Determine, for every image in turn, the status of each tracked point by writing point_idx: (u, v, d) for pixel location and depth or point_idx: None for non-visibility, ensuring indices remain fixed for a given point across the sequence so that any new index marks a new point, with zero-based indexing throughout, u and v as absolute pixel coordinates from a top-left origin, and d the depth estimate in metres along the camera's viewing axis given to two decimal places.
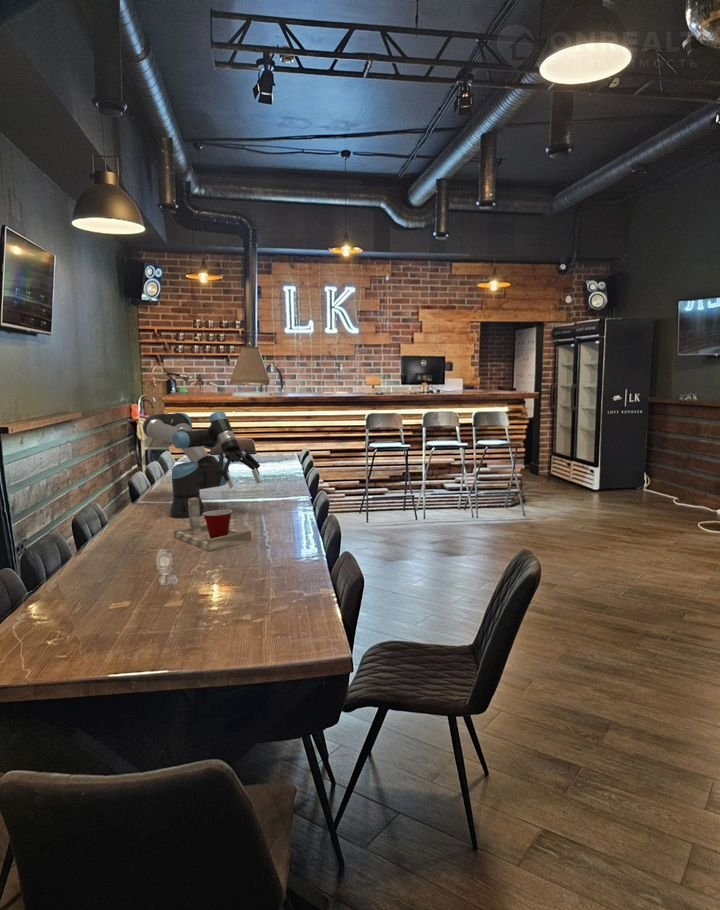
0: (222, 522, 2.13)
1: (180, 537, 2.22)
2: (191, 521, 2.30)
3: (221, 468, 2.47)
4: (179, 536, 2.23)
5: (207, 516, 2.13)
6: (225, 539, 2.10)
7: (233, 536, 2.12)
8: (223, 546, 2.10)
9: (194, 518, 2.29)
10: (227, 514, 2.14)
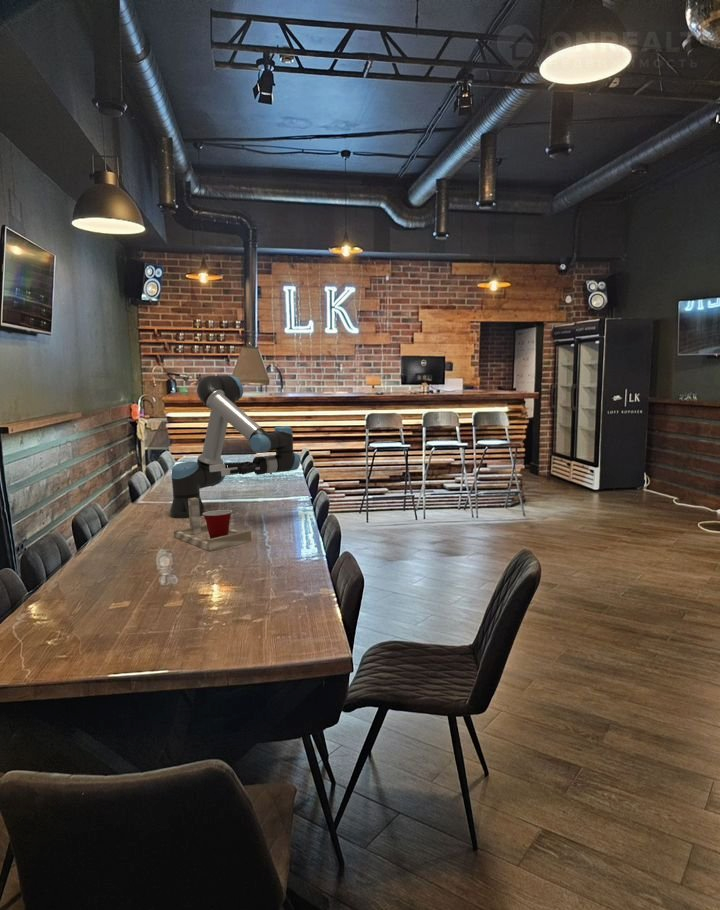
0: (222, 522, 2.13)
1: (180, 537, 2.22)
2: (191, 521, 2.30)
3: (244, 473, 2.31)
4: (179, 536, 2.23)
5: (207, 516, 2.13)
6: (225, 539, 2.10)
7: (233, 536, 2.12)
8: (223, 546, 2.10)
9: (194, 518, 2.29)
10: (227, 514, 2.14)
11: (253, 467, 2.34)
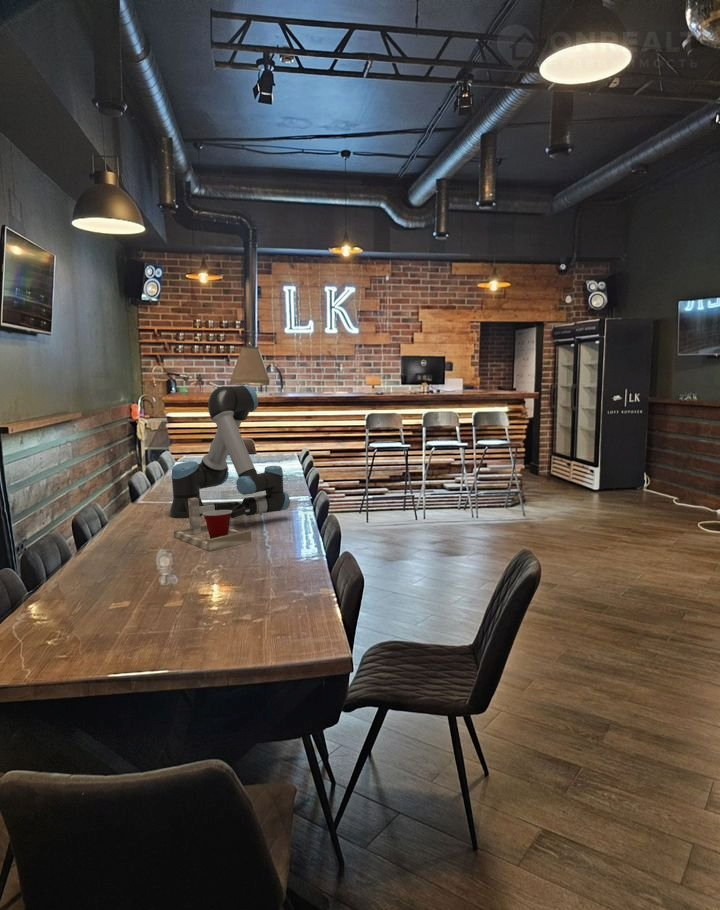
0: (222, 522, 2.13)
1: (180, 537, 2.22)
2: (191, 521, 2.30)
3: None
4: (179, 536, 2.23)
5: (207, 516, 2.13)
6: (225, 539, 2.10)
7: (233, 536, 2.12)
8: (223, 546, 2.10)
9: (194, 518, 2.29)
10: (227, 514, 2.14)
11: (243, 510, 2.33)
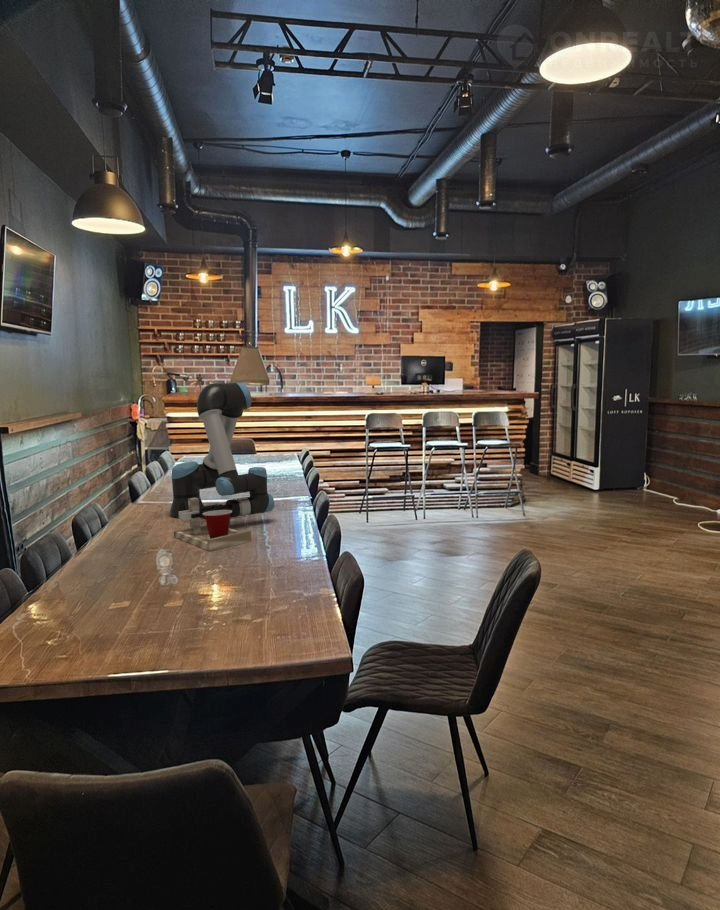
0: (222, 522, 2.13)
1: (180, 537, 2.22)
2: (191, 521, 2.30)
3: None
4: (179, 536, 2.23)
5: (207, 516, 2.13)
6: (225, 539, 2.10)
7: (233, 536, 2.12)
8: (223, 546, 2.10)
9: None
10: (227, 514, 2.14)
11: None
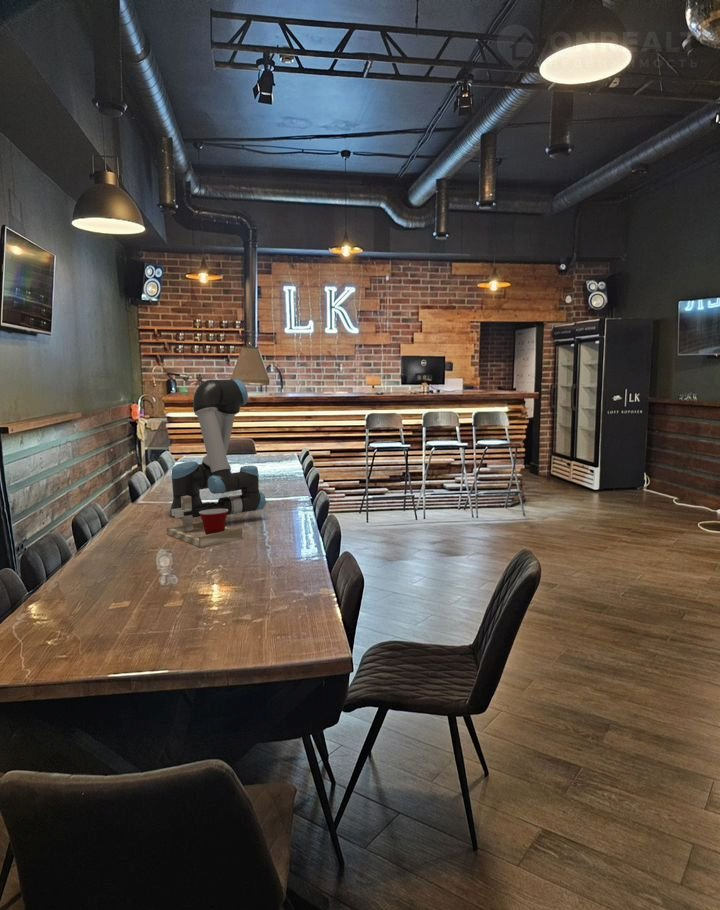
0: (217, 521, 2.16)
1: (173, 534, 2.27)
2: (184, 519, 2.34)
3: None
4: (171, 533, 2.27)
5: (203, 515, 2.15)
6: (216, 536, 2.15)
7: (224, 533, 2.17)
8: (214, 543, 2.14)
9: None
10: (223, 513, 2.16)
11: None
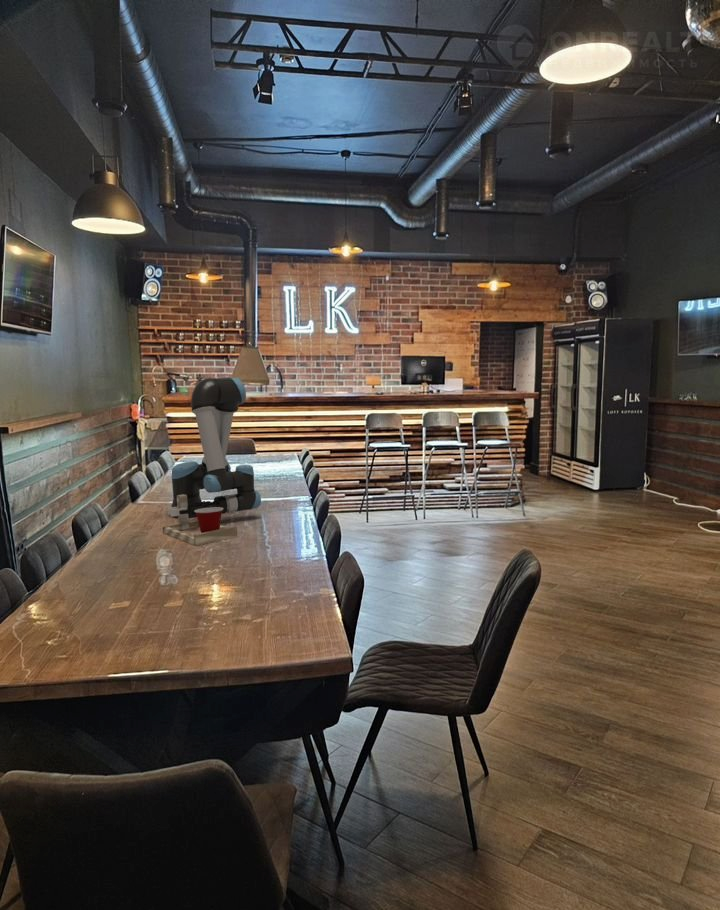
0: (213, 519, 2.18)
1: (168, 532, 2.29)
2: (179, 517, 2.37)
3: None
4: (167, 531, 2.30)
5: (198, 513, 2.17)
6: (211, 534, 2.17)
7: (219, 531, 2.19)
8: (209, 541, 2.17)
9: None
10: (218, 511, 2.19)
11: None
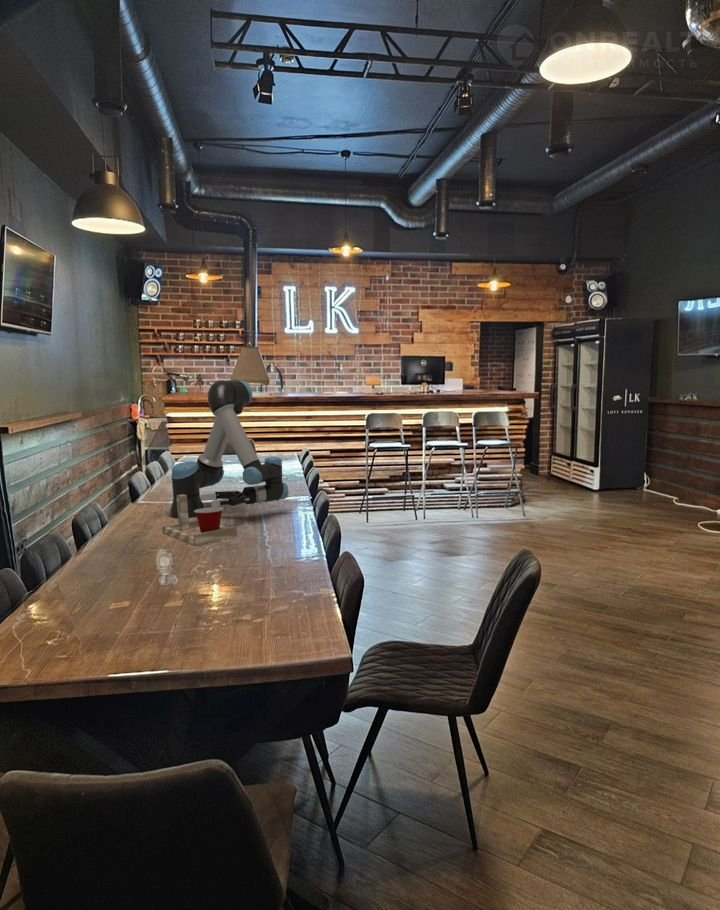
0: (212, 519, 2.18)
1: (168, 532, 2.29)
2: (179, 517, 2.37)
3: None
4: (167, 531, 2.30)
5: (198, 513, 2.17)
6: (211, 534, 2.17)
7: (219, 531, 2.19)
8: (209, 541, 2.17)
9: (182, 514, 2.36)
10: (218, 511, 2.19)
11: (243, 498, 2.43)
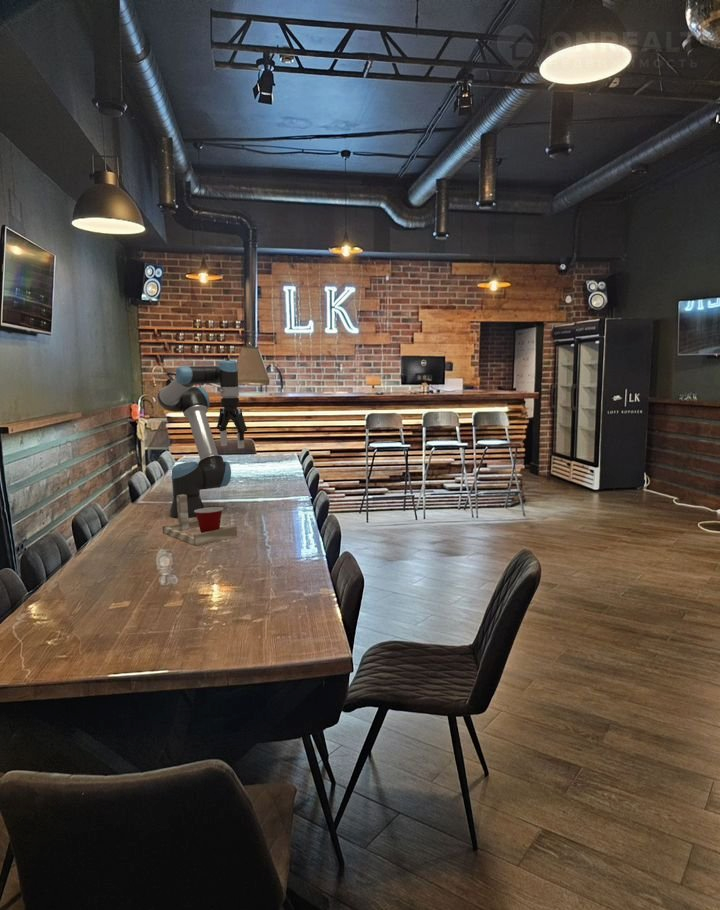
0: (212, 519, 2.18)
1: (168, 532, 2.29)
2: (179, 517, 2.37)
3: (218, 426, 2.54)
4: (167, 531, 2.30)
5: (198, 513, 2.17)
6: (211, 534, 2.17)
7: (219, 531, 2.19)
8: (209, 541, 2.17)
9: (182, 514, 2.36)
10: (218, 511, 2.19)
11: None
